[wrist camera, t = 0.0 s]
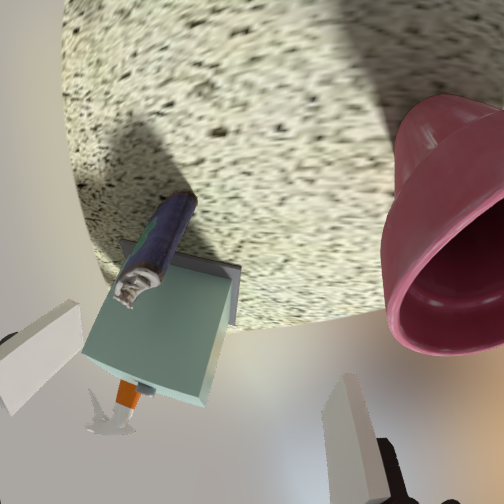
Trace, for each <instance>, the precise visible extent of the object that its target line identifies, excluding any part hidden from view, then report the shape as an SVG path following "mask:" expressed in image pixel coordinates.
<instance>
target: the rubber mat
mask: <svg viewBox="0 0 504 504" xmlns="http://www.w3.org/2000/svg"><path fill="white" fill-rule="evenodd" d="M119 242H120V245H121V247H122V250H123V252H124V255H125V257H126V259H127V257H128V255H129V254H130V255H131V253H132V251H133V250H134V248H135V246H136V244H137V243H136V242H132V241H128V240H124V239H120V240H119ZM169 265H173V266H177V267H181V268H185V269H189V270H193V271H197V272H201V273H206V274H210V275H214V276H218V277H222V278H227V279H231V280H232V289H231V304H230V318H229V322H228V324H230V325H234V326H235V319H236V311H237V302H238V293H239V285H240V276H241V267H238V266H234V265H229V264H225V263H220V262H216V261H212V260H207V259H203V258H199V257H194V256H190V255H186V254H182V253H177V252H175V253H174V254H173V258H172V260H171V262H170V264H169Z"/></svg>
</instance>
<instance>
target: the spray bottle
mask: <svg viewBox="0 0 504 504" xmlns="http://www.w3.org/2000/svg"><path fill="white" fill-rule="evenodd" d="M136 387H137V385H134V384H132V383H129V382H127V381H124V380H122V379H121V381H120V385H119V389H118V393H117V398H116V403H115V406H114V409H113V411H114V415H113V418H112V419H111V418H108V417H107V416H106V415H105V414H104V412H103V411H102V409H101V407H100V404H99V402H98V401H97V399H96V397H95V396H94V394H93V393H92V391H91V390H90V389H88V391H89V393H90V396H91V399H92V403H93V407H94V412H95V416H94V418H93V421H94V424H90V423H87V424H86V426H85V427H86V430H88V431H91V432H94V434H101V435H127V434H131V433H134V432H136V431H135V429H134V428H133V427H131V426H130V425H128V422H129V418H132V414H133V411H134V409H135V407H136V404H137V402H138V400H139V398H140V395H141V393H138V392H136V391H135V390H136ZM102 417H103V418H104V419H105V420H106V421H104V420H102Z"/></svg>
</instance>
